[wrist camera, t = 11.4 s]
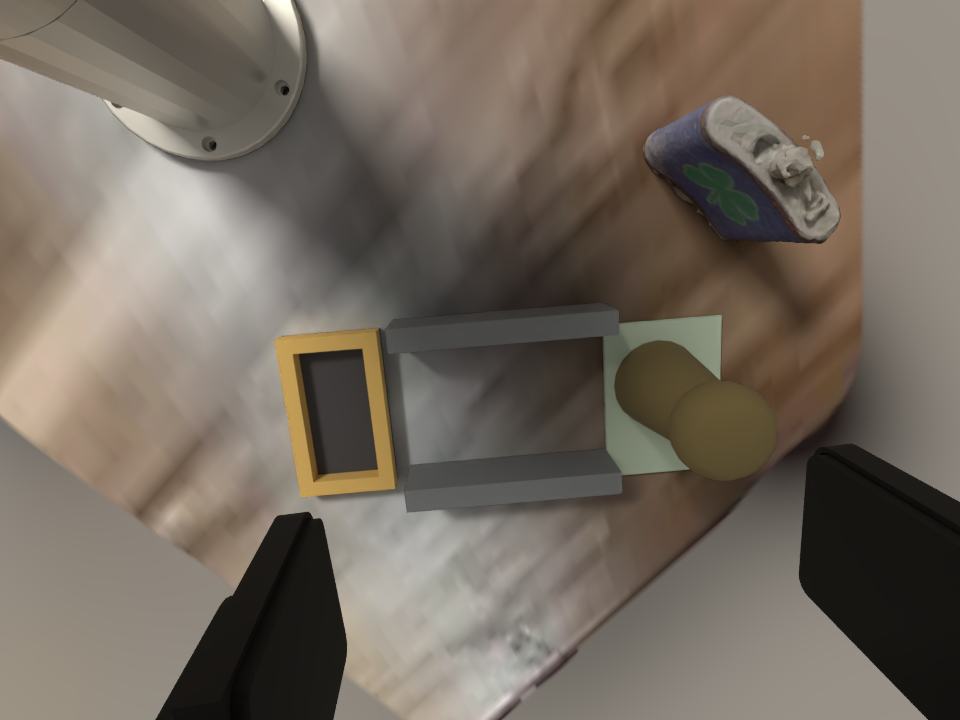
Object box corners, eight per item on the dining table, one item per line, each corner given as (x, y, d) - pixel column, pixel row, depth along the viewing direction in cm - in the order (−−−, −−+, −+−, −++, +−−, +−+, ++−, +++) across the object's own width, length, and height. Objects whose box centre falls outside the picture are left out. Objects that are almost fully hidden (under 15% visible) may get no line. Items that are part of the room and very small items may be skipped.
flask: (633, 152, 33) (711, 113, 23) (666, 115, 33) (761, 58, 23) (730, 251, 35) (844, 256, 25) (763, 216, 35) (893, 207, 24)
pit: (282, 336, 35) (274, 340, 34) (379, 328, 35) (375, 331, 34) (307, 487, 38) (300, 497, 36) (397, 479, 38) (395, 489, 36)
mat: (602, 324, 36) (603, 325, 35) (718, 314, 36) (721, 315, 36) (606, 474, 38) (607, 476, 38) (715, 464, 38) (718, 467, 38)
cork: (699, 420, 37) (796, 494, 26) (614, 427, 37) (676, 504, 26) (701, 336, 36) (803, 378, 25) (613, 343, 36) (677, 388, 25)
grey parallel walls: (393, 319, 35) (384, 329, 31) (601, 302, 35) (618, 310, 32) (412, 484, 38) (406, 512, 34) (605, 467, 38) (622, 493, 34)
